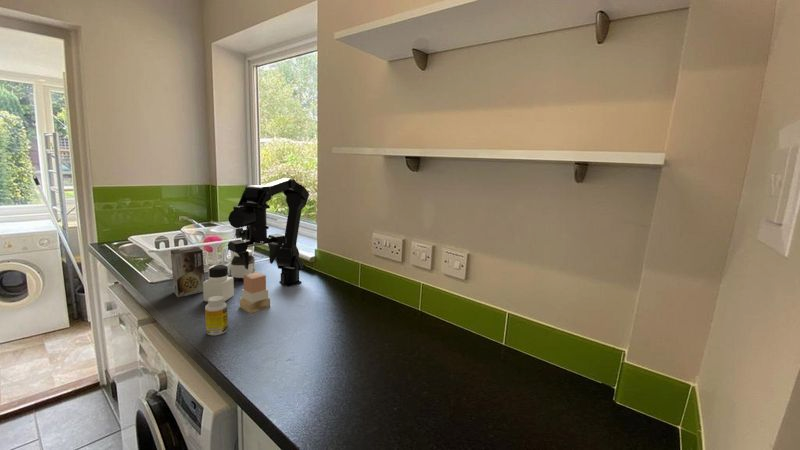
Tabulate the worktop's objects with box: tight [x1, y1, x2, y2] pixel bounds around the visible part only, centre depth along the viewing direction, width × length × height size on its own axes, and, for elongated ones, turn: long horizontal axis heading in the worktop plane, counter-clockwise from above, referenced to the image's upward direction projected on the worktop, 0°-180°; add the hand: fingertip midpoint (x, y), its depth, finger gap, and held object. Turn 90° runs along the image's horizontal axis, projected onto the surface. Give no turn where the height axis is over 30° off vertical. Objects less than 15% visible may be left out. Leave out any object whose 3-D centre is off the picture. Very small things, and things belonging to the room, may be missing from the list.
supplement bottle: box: [204, 296, 229, 336], centre depth 100 cm, size 6×6×10 cm
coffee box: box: [170, 246, 206, 298], centre depth 127 cm, size 9×6×16 cm
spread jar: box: [227, 248, 256, 282], centre depth 146 cm, size 12×11×12 cm
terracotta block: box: [243, 271, 267, 293], centre depth 117 cm, size 5×5×5 cm
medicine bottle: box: [202, 264, 235, 303], centre depth 123 cm, size 7×7×12 cm
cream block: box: [241, 288, 269, 303], centre depth 118 cm, size 6×6×3 cm
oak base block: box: [239, 297, 271, 314], centre depth 118 cm, size 7×7×4 cm
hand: (259, 266), depth 122 cm, fingers open, 9 cm apart
